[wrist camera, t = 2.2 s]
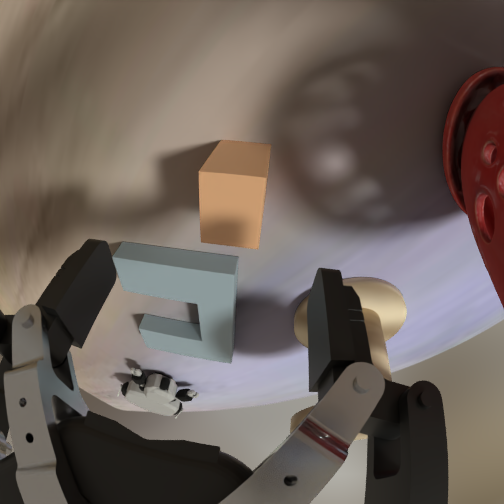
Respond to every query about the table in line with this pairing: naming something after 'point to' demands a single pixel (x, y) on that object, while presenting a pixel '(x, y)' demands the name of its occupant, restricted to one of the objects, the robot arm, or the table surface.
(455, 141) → the plant pot
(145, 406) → the robot toy
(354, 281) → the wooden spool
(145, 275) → the notched board
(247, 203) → the block
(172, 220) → the table surface
